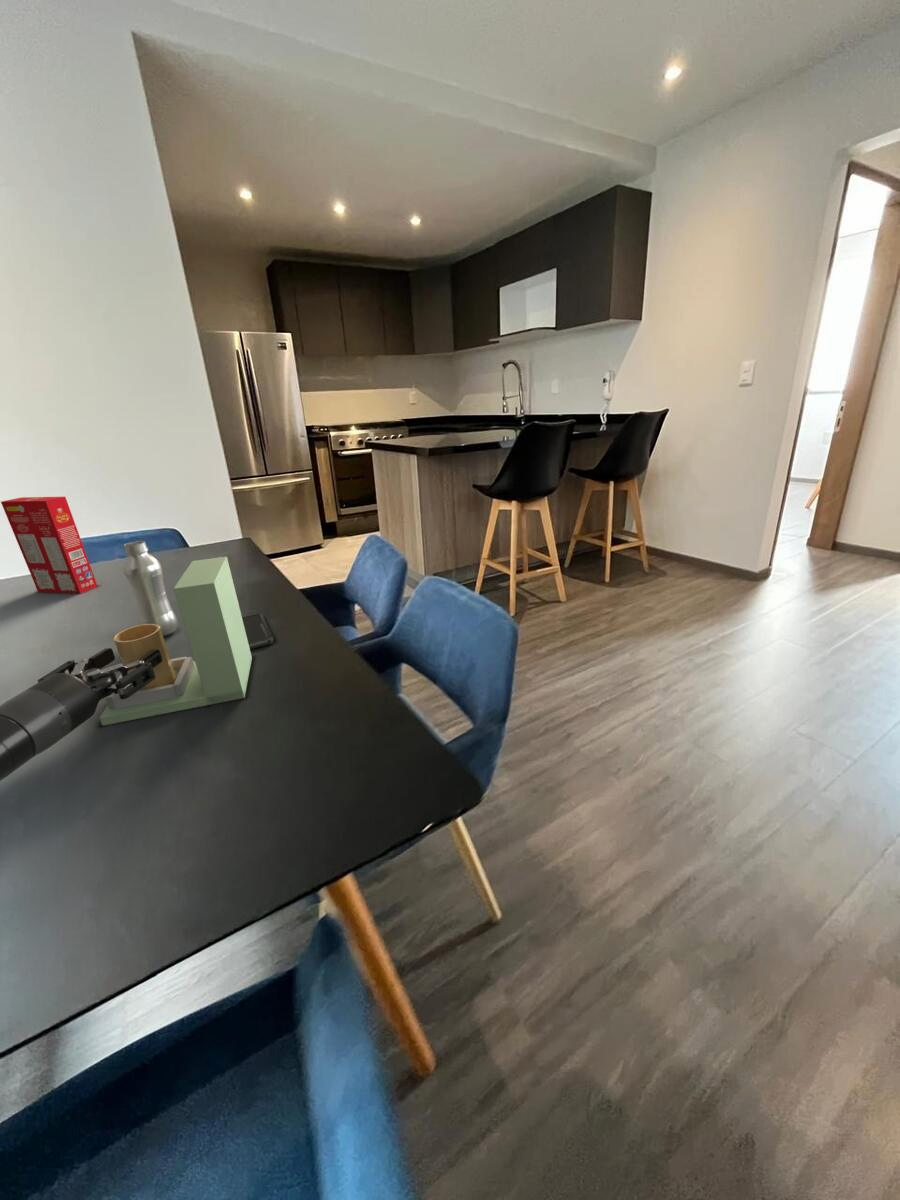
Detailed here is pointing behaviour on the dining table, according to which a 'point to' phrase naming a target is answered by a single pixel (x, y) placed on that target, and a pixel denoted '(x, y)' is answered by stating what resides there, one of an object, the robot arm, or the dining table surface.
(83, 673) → the robot arm
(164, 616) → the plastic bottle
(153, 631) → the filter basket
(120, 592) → the dining table surface
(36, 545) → the food packaging
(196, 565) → the coffee maker
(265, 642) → the phone
